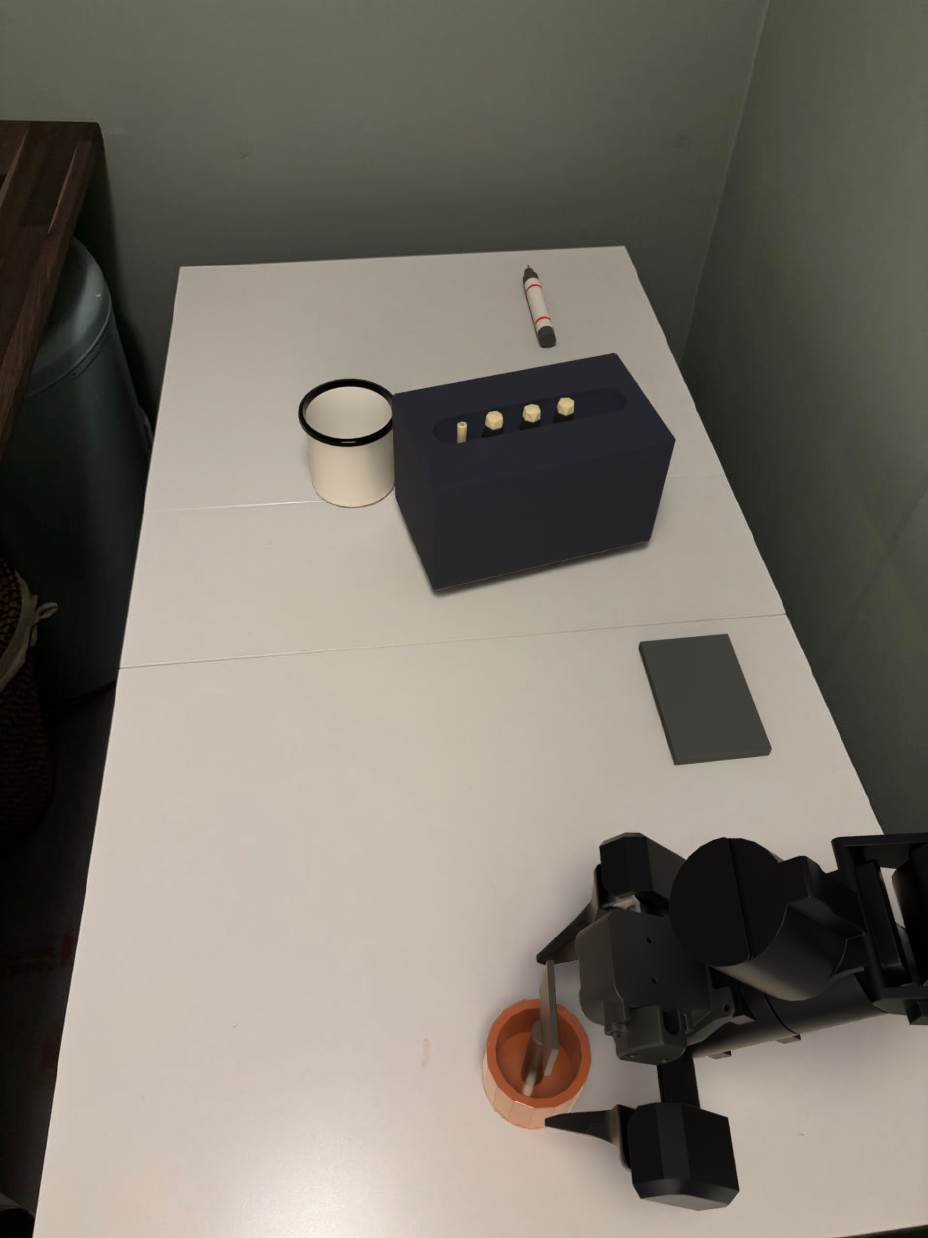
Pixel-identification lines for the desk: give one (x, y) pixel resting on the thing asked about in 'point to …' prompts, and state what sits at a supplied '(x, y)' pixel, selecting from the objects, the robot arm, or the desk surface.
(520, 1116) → the crock
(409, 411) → the speaker
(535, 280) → the marker
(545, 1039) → the spatula
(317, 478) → the mug
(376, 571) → the desk surface
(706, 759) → the mat
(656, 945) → the robot arm
